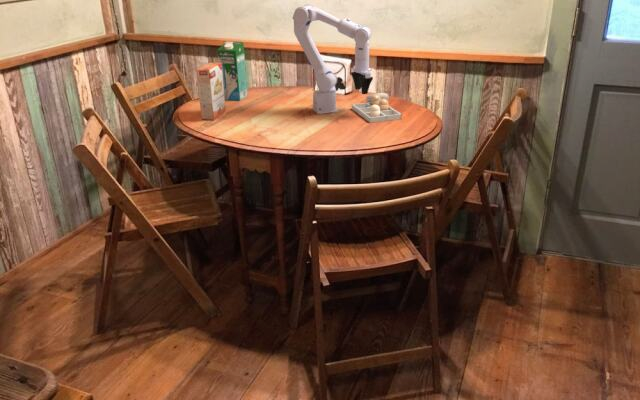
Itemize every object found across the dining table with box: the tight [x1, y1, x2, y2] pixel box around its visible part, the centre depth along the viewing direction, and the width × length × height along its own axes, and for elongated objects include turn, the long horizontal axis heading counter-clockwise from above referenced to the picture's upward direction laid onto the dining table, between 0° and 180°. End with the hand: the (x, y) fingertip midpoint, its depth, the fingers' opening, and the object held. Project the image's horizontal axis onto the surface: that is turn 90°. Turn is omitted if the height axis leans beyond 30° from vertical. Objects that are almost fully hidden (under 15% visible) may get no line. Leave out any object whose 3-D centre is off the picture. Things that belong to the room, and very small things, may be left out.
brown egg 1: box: [371, 95, 381, 106], centre depth 233 cm, size 4×4×6 cm
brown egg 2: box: [379, 99, 389, 111], centre depth 227 cm, size 4×4×6 cm
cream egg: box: [370, 105, 380, 117], centre depth 220 cm, size 4×4×6 cm
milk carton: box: [217, 41, 249, 102], centre depth 250 cm, size 9×9×25 cm
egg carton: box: [351, 102, 403, 124], centre depth 227 cm, size 14×20×2 cm
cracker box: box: [196, 62, 226, 121], centre depth 227 cm, size 14×6×21 cm, turn 168°
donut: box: [365, 92, 390, 103], centre depth 239 cm, size 10×4×10 cm
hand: (361, 91), depth 226 cm, fingers open, 7 cm apart
